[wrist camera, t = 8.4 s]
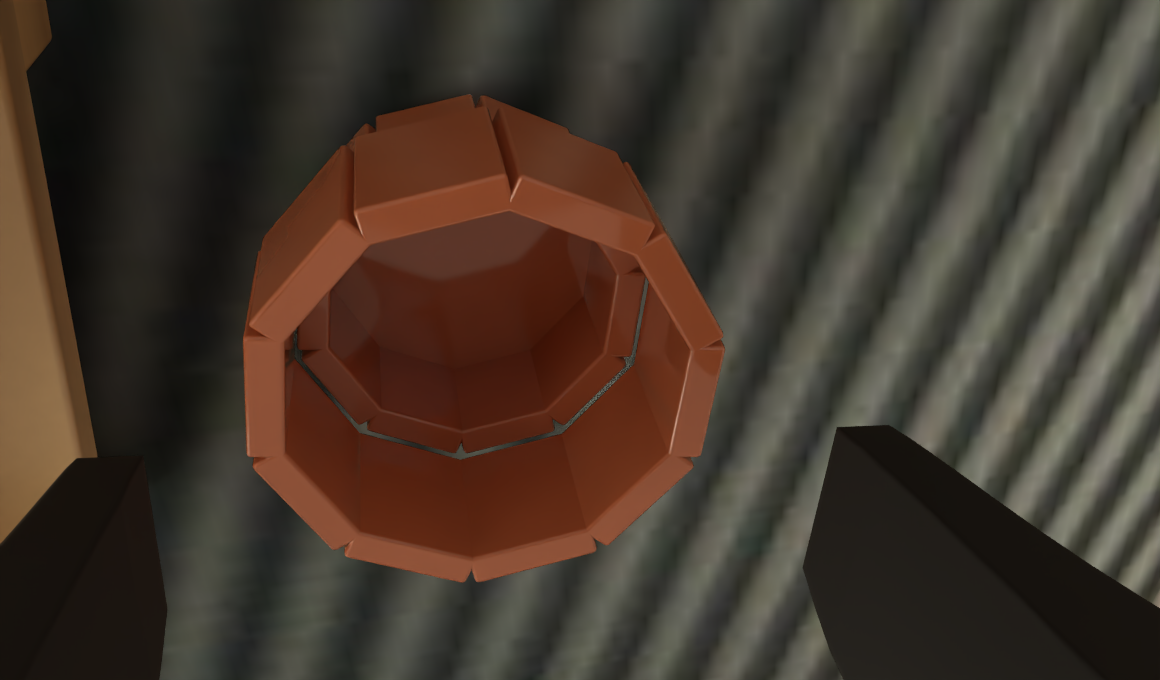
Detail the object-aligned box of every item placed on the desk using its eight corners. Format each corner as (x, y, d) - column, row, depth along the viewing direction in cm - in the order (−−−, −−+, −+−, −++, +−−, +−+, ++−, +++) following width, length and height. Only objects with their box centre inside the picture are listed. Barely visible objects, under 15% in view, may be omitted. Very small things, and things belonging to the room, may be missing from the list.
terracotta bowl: (555, 428, 19) (603, 616, 15) (216, 331, 17) (175, 521, 13) (709, 143, 17) (808, 282, 13) (337, -11, 15) (330, 103, 11)
